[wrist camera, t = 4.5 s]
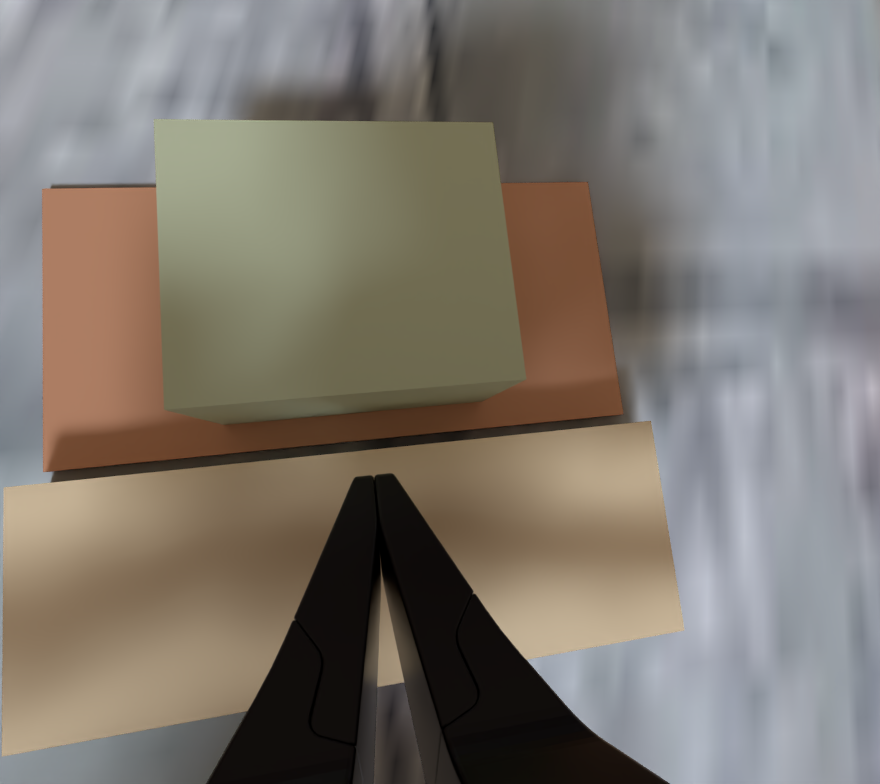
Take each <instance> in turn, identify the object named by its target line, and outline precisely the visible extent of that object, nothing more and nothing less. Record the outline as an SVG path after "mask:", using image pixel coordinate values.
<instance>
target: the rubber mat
mask: <svg viewBox="0 0 880 784" xmlns="http://www.w3.org/2000/svg"><path fill="white" fill-rule="evenodd" d="M501 188H502V196H503V204H504V211H505V219H506V227H507V234H508V242H509V250H510V257H511V265H512V273H513V280H514V288H515V296H516V303H517V311H518V319H519V326H520V334H521V342H522V349H523V357H524V365H525V372H526V380H524V381H522V382H520V383H518V384H516V385H514V386H512V387H510V388H508V389H506V390H504V391H502V392H500V393H498V394H496V395H494V396H492V397H490V398H488V399H486V400H484V401H482V402H472V403H461V404H450V405H439V406H428V407H417V408H406V409H395V410H384V411H373V412H362V413H351V414H340V415H329V416H318V417H307V418H296V419H285V420H274V421H263V422H252V423H241V424H230V425H222V424H218V423H214V422H210V421H206V420H202V419H198V418H194V417H190V416H186V415H183V414H179V413H175V412H171V411H167V410H164V395H163V367H162V338H161V310H160V282H159V253H158V225H157V196H156V187H145V188H63V189H42V233H43V472H51V471H61V470H71V469H81V468H91V467H101V466H111V465H121V464H131V463H141V462H151V461H161V460H171V459H181V458H191V457H201V456H211V455H222V454H232V453H242V452H252V451H262V450H272V449H282V448H292V447H302V446H312V445H322V444H332V443H342V442H352V441H362V440H372V439H382V438H392V437H402V436H412V435H422V434H432V433H442V432H452V431H462V430H472V429H482V428H492V427H503V426H513V425H523V424H533V423H543V422H553V421H563V420H573V419H583V418H593V417H603V416H613V415H621V414H623V408H622V401H621V395H620V388H619V382H618V375H617V369H616V362H615V356H614V349H613V343H612V336H611V330H610V323H609V317H608V310H607V304H606V297H605V290H604V284H603V277H602V271H601V264H600V258H599V251H598V245H597V238H596V232H595V225H594V219H593V212H592V206H591V199H590V193H589V186H588V182H553V183H501Z"/></svg>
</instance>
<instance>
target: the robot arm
mask: <svg viewBox="0 0 880 784" xmlns="http://www.w3.org/2000/svg"><path fill="white" fill-rule="evenodd" d="M380 560H381V562H380ZM381 570H382V578H383V583H384V589H385V593H386V598H387V603H388V607H389V612H390V617H391V622H392V626H393V631H394V636H395V640H396V645H397V650H398V655H399V659H400V664H401V669H402V673H403V678H404V683H405V688H406V692H407V697H408V702H409V706H410V711H411V716H412V720H413V725H414V730H415V735H416V739H417V744H418V749H419V753H420V758H421V763H422V768H423V772H424V777H425V782H426V784H670V783H668V782H667V781H665V780H664V779H662V778H661V777H659V776H658V775H656V774H655V773H653V772H652V771H650V770H649V769H647V768H646V767H644V766H643V765H641V764H639V763H638V762H636V761H635V760H633V759H632V758H630V757H629V756H627V755H626V754H624V753H623V752H621V751H620V750H618V749H617V748H615V747H614V746H612V745H611V744H609V743H608V742H606V741H605V740H603V739H602V738H600V737H599V736H598V735H596V734H595V733H594V732H593V731H591V730H590V729H589V728H588V727H587V726H586V725H585V724H584V723H582V722H581V721H580V720H579V719H578V718H577V717H576V716H575V715H574V714H573V712H572V711H571V710H570V709H569V708H568V707H567V706H566V705H565V704H564V702H563V701H562V700H561V699H560V698H559V697H558V696H557V694H556V693H555V692H554V691H553V690H552V689H551V688H550V686H549V685H548V684H547V683H546V682H545V681H544V680H543V678H542V677H541V676H540V675H539V674H538V673H537V672H536V670H535V669H534V668H533V667H532V666H531V665H530V664H529V662H528V661H527V660H526V659H525V658H524V657H523V655H522V654H521V653H520V652H519V651H518V650H517V648H516V647H515V646H514V645H513V644H512V642H511V641H510V640H509V639H508V637H507V636H506V635H505V634H504V633H503V631H502V630H501V629H500V627H499V626H498V625H497V623H496V622H495V621H494V619H493V618H492V616H491V615H490V614H489V612H488V611H487V610H486V608H485V607H484V605H483V604H482V602H481V601H480V599H479V598H478V596H477V595H476V594H473V592H474V591H473V589H472V588H471V586H470V585H469V583H468V582H467V580H466V579H465V578H464V576H463V575H462V573H461V572H460V570H459V569H458V567H457V566H456V564H455V563H454V561H453V560H452V558H451V557H450V555H449V554H448V553H447V551H446V550H445V548H444V547H443V545H442V544H441V542H440V541H439V539H438V538H437V536H436V535H435V533H434V532H433V530H432V529H431V528H430V526H429V525H428V523H427V522H426V520H425V519H424V517H423V516H422V514H421V513H420V511H419V510H418V508H417V507H416V505H415V504H414V502H413V501H412V500H411V498H410V497H409V495H408V494H407V492H406V491H405V489H404V488H403V486H402V485H401V483H400V482H399V480H398V479H397V477H396V476H395V475H394V474H393V473H386V474H377V475H375V477H373V476H372V475H367V476H357V477H355V478H354V479H353V481H352V483H351V485H350V488H349V490H348V492H347V495H346V497H345V499H344V502H343V504H342V506H341V509H340V511H339V513H338V516H337V518H336V520H335V523H334V525H333V527H332V530H331V532H330V534H329V537H328V539H327V541H326V544H325V546H324V548H323V551H322V553H321V555H320V558H319V560H318V562H317V564H316V567H315V569H314V571H313V574H312V576H311V578H310V581H309V583H308V585H307V588H306V590H305V592H304V595H303V597H302V599H301V602H300V604H299V606H298V609H297V611H296V613H295V616H294V620H293V621H292V622H291V625H290V627H289V629H288V632H287V634H286V636H285V639H284V641H283V643H282V645H281V647H280V649H279V652H278V654H277V656H276V658H275V660H274V662H273V664H272V667H271V669H270V670H269V672H268V674H267V676H266V678H265V680H264V682H263V684H262V686H261V687H260V689H259V691H258V693H257V695H256V697H255V699H254V700H253V702H252V704H251V706H250V707H249V709H248V711H247V713H246V714H245V716H244V718H243V720H242V722H241V723H240V725H239V727H238V729H237V730H236V732H235V734H234V736H233V737H232V739H231V741H230V743H229V744H228V746H227V748H226V750H225V751H224V753H223V755H222V757H221V758H220V760H219V762H218V764H217V766H216V767H215V769H214V771H213V773H212V774H211V776H210V778H209V779H208V781H207V783H206V784H373V783H374V757H375V732H376V707H377V682H378V656H379V631H380V606H381Z"/></svg>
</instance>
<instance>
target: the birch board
mask: <svg viewBox="0 0 880 784" xmlns="http://www.w3.org/2000/svg"><path fill="white" fill-rule="evenodd" d="M386 473H393V474H394V475H395V476H396V477H397V479H398V480H399V482H400V483H401V485H402V486H403V488H404V489H405V491H406V492H407V494H408V495H409V497H410V498H411V500H412V501H413V502H414V504H415V505H416V507H417V508H418V510H419V511H420V513H421V514H422V516H423V517H424V519H425V520H426V522H427V523H428V525H429V526H430V528H431V529H432V530H433V532H434V533H435V535H436V536H437V538H438V539H439V541H440V542H441V544H442V545H443V547H444V548H445V550H446V551H447V553H448V554H449V555H450V557H451V558H452V560H453V561H454V563H455V564H456V566H457V567H458V569H459V570H460V572H461V573H462V575H463V576H464V578H465V579H466V580H467V582H468V583H469V585H470V586H471V588H472V589H473V591H474V592H473V594H476V595H477V596H478V598H479V599H480V601H481V602H482V604H483V605H484V607H485V608H486V610H487V611H488V612H489V614H490V615H491V616H492V618H493V619H494V621H495V622H496V623H497V625H498V626H499V627H500V629H501V630H502V631H503V633H504V634H505V635H506V636H507V637H508V639H509V640H510V641H511V642H512V644H513V645H514V646H515V647H516V648H517V650H518V651H519V652H520V653H521V654H522V655H523V657H524V658H525V659H526V660H527V659H532V658H538V657H543V656H548V655H554V654H559V653H565V652H570V651H575V650H581V649H586V648H592V647H597V646H602V645H608V644H613V643H619V642H624V641H629V640H635V639H640V638H646V637H651V636H656V635H662V634H667V633H673V632H678V631H684V625H683V619H682V612H681V606H680V600H679V594H678V587H677V581H676V575H675V569H674V563H673V556H672V550H671V544H670V538H669V531H668V525H667V519H666V513H665V506H664V500H663V494H662V488H661V481H660V475H659V469H658V463H657V457H656V450H655V444H654V438H653V432H652V425H651V421H645V422H635V423H625V424H616V425H606V426H596V427H587V428H577V429H567V430H557V431H548V432H538V433H528V434H519V435H509V436H499V437H490V438H480V439H470V440H460V441H451V442H441V443H431V444H422V445H412V446H402V447H393V448H383V449H373V450H364V451H354V452H344V453H334V454H325V455H315V456H305V457H296V458H286V459H276V460H267V461H257V462H247V463H237V464H228V465H218V466H208V467H199V468H189V469H179V470H170V471H160V472H150V473H140V474H131V475H121V476H111V477H102V478H92V479H82V480H73V481H63V482H53V483H43V484H34V485H24V486H14V487H5V488H4V527H3V668H2V756H8V755H13V754H18V753H24V752H29V751H35V750H40V749H45V748H51V747H56V746H62V745H67V744H72V743H78V742H83V741H89V740H94V739H100V738H105V737H110V736H116V735H121V734H127V733H132V732H137V731H143V730H148V729H154V728H159V727H164V726H170V725H175V724H181V723H186V722H191V721H197V720H202V719H208V718H213V717H218V716H224V715H229V714H235V713H240V712H246V711H248V709H249V707H250V706H251V704H252V702H253V700H254V699H255V697H256V695H257V693H258V691H259V689H260V687H261V686H262V684H263V682H264V680H265V678H266V676H267V674H268V672H269V670H270V669H271V667H272V664H273V662H274V660H275V658H276V656H277V654H278V652H279V649H280V647H281V645H282V643H283V641H284V639H285V636H286V634H287V632H288V629H289V627H290V625H291V622H292V621H293V620H294V616H295V613H296V611H297V609H298V606H299V604H300V602H301V599H302V597H303V595H304V592H305V590H306V588H307V585H308V583H309V581H310V578H311V576H312V574H313V571H314V569H315V567H316V564H317V562H318V560H319V558H320V555H321V553H322V551H323V548H324V546H325V544H326V541H327V539H328V537H329V534H330V532H331V530H332V527H333V525H334V523H335V520H336V518H337V516H338V513H339V511H340V509H341V506H342V504H343V502H344V499H345V497H346V495H347V492H348V490H349V488H350V485H351V483H352V481H353V479H354V478H355V477H357V476H367V475H372V476H373V477H375V475H377V474H386ZM380 562H381V560H380ZM402 682H404V678H403V673H402V669H401V664H400V659H399V655H398V650H397V645H396V640H395V636H394V631H393V626H392V622H391V617H390V612H389V607H388V603H387V598H386V593H385V589H384V583H383V578H382V570H381V606H380V631H379V656H378V682H377V687H381V686H386V685H392V684H397V683H402Z"/></svg>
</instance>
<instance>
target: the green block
mask: <svg viewBox="0 0 880 784" xmlns="http://www.w3.org/2000/svg"><path fill="white" fill-rule="evenodd" d="M154 140H155V168H156V196H157V225H158V253H159V282H160V310H161V338H162V367H163V395H164V410H167V411H171V412H175V413H179V414H183V415H186V416H190V417H194V418H198V419H202V420H206V421H210V422H214V423H218V424H222V425H230V424H241V423H252V422H263V421H274V420H285V419H296V418H307V417H318V416H329V415H340V414H351V413H362V412H373V411H384V410H395V409H406V408H417V407H428V406H439V405H450V404H461V403H472V402H482V401H484V400H486V399H488V398H490V397H492V396H494V395H496V394H498V393H500V392H502V391H504V390H506V389H508V388H510V387H512V386H514V385H516V384H518V383H520V382H522V381H524V380H526V372H525V365H524V357H523V349H522V342H521V334H520V326H519V319H518V311H517V303H516V296H515V288H514V280H513V273H512V265H511V257H510V250H509V242H508V234H507V227H506V219H505V211H504V204H503V196H502V188H501V181H500V173H499V165H498V158H497V150H496V142H495V135H494V127H493V122H405V121H291V120H177V119H154Z"/></svg>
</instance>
